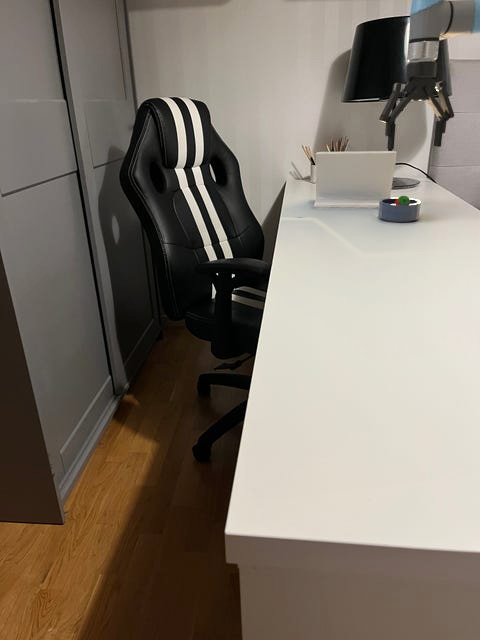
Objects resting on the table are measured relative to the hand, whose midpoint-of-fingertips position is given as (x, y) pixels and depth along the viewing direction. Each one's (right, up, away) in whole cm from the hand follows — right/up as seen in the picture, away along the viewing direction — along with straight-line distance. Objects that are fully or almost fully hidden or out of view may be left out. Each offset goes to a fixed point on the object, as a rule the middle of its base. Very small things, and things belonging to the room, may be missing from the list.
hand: (413, 147), depth 138 cm
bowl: (-2, -18, +6) cm, 20 cm away
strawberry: (-2, -17, +6) cm, 18 cm away
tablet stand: (-10, -8, +31) cm, 34 cm away
